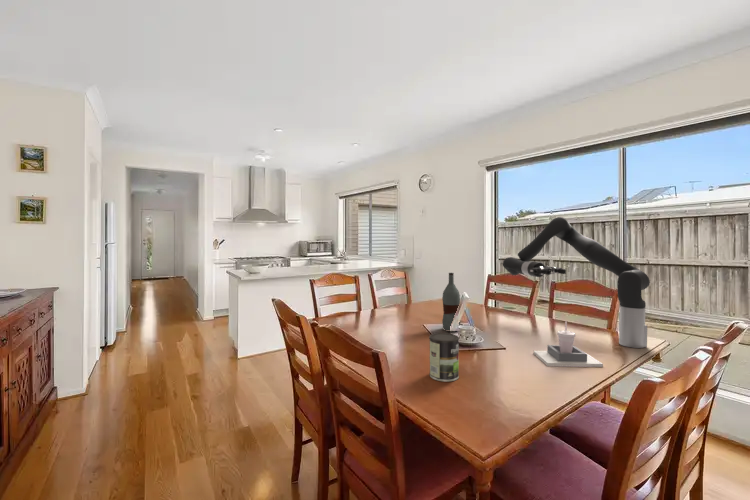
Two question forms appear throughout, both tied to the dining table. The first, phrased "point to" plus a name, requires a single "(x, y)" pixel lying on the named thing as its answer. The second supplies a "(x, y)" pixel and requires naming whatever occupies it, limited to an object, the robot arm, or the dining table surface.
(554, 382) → the dining table surface
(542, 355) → the socket stand
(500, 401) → the dining table surface
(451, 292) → the dark grey tall bottle
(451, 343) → the coffee can
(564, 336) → the smoothie
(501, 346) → the dining table surface
